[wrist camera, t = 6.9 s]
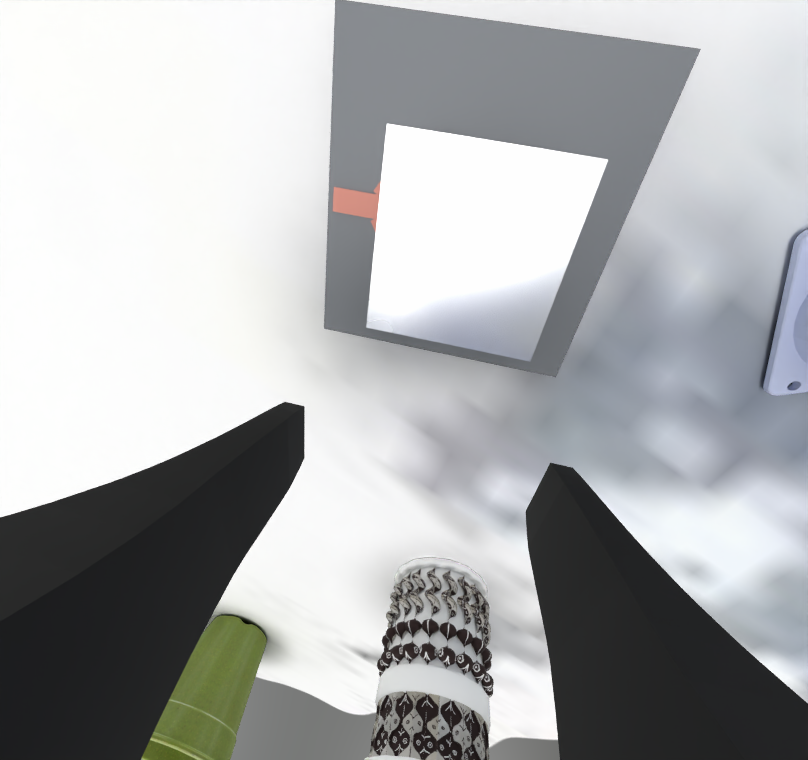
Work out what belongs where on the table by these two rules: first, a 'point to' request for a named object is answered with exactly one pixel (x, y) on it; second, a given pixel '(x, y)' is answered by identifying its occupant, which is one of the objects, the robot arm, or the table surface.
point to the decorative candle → (434, 666)
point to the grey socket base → (489, 135)
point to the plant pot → (210, 694)
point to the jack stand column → (474, 238)
